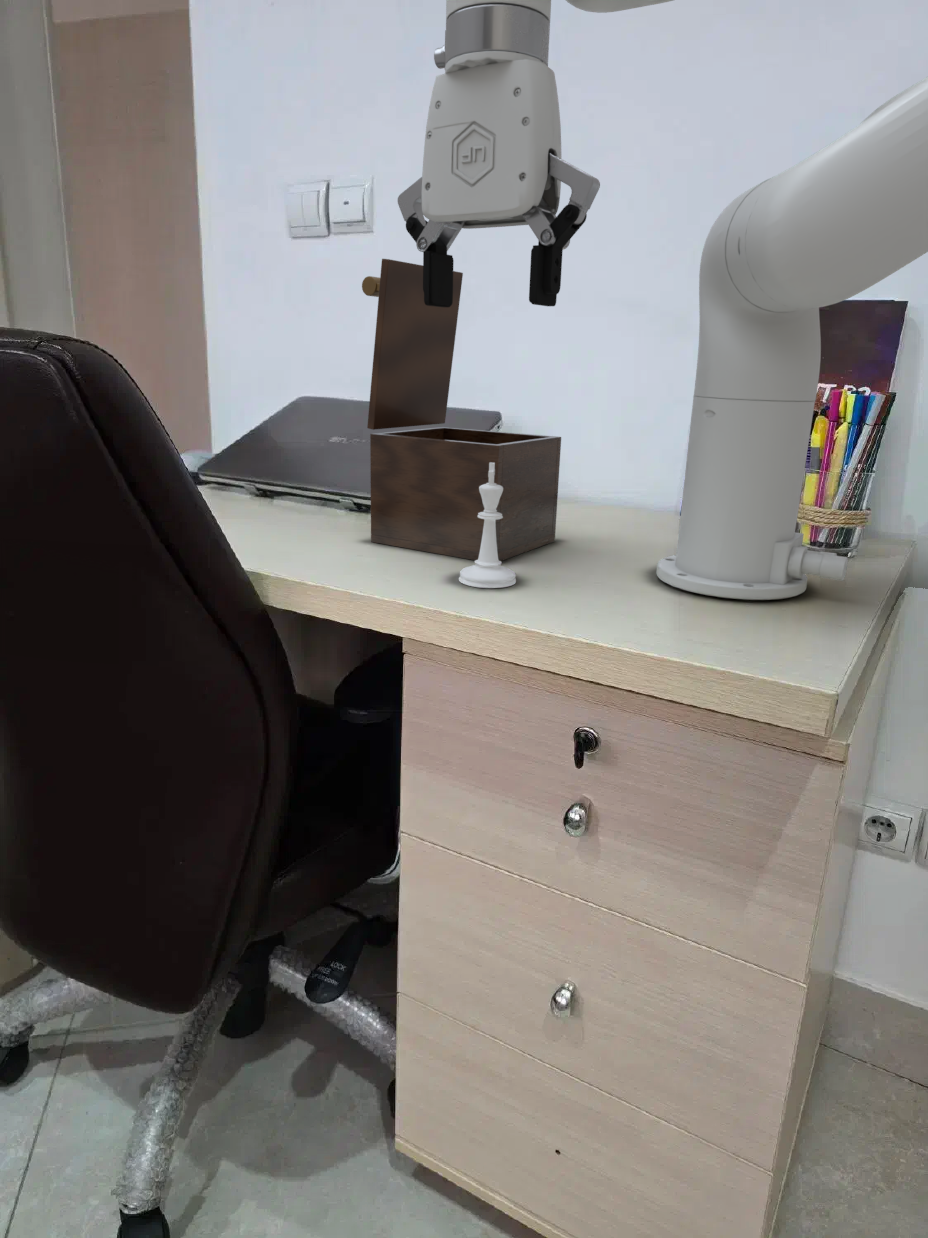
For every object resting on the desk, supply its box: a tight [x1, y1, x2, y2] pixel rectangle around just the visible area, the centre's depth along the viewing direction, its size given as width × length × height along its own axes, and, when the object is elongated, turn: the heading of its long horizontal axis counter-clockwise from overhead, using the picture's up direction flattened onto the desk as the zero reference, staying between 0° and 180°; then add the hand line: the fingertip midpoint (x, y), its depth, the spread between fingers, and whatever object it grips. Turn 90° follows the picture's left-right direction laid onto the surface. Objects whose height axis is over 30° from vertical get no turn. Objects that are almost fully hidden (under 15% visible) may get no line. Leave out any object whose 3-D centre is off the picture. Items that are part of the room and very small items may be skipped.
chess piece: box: [458, 463, 517, 589], centre depth 69 cm, size 5×5×10 cm
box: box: [369, 426, 562, 562], centre depth 84 cm, size 15×13×11 cm
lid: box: [361, 258, 464, 431], centre depth 84 cm, size 15×13×6 cm
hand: (488, 305), depth 65 cm, fingers open, 9 cm apart
